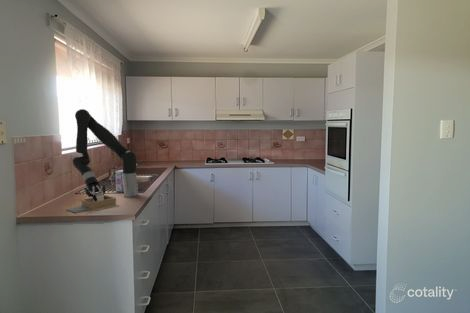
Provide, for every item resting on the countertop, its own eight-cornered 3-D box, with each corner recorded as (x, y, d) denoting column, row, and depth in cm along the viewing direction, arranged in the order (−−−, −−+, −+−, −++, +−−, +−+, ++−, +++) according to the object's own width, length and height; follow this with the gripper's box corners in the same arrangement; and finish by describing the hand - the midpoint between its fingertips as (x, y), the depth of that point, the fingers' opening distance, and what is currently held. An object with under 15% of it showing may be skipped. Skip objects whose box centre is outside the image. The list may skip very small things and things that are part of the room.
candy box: (122, 192, 260) (121, 171, 258) (115, 191, 261) (114, 171, 259) (132, 188, 273) (131, 168, 271) (125, 188, 274) (124, 168, 273)
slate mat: (80, 207, 216) (80, 206, 216) (89, 210, 208) (89, 209, 208) (66, 209, 209) (66, 209, 209) (74, 213, 201) (74, 212, 201)
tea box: (100, 204, 222) (99, 192, 222) (104, 205, 219) (103, 193, 218) (93, 205, 219) (93, 193, 218) (97, 206, 216) (96, 194, 215)
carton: (102, 200, 232) (102, 194, 232) (119, 205, 218) (119, 198, 218) (78, 205, 220) (78, 198, 219) (94, 211, 206) (94, 203, 205)
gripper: (81, 177, 216) (91, 198, 210) (102, 174, 227) (112, 194, 221) (78, 184, 220) (87, 205, 214) (98, 181, 231) (108, 201, 225)
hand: (100, 199), depth 217 cm, fingers closed on tea box, 4 cm apart
